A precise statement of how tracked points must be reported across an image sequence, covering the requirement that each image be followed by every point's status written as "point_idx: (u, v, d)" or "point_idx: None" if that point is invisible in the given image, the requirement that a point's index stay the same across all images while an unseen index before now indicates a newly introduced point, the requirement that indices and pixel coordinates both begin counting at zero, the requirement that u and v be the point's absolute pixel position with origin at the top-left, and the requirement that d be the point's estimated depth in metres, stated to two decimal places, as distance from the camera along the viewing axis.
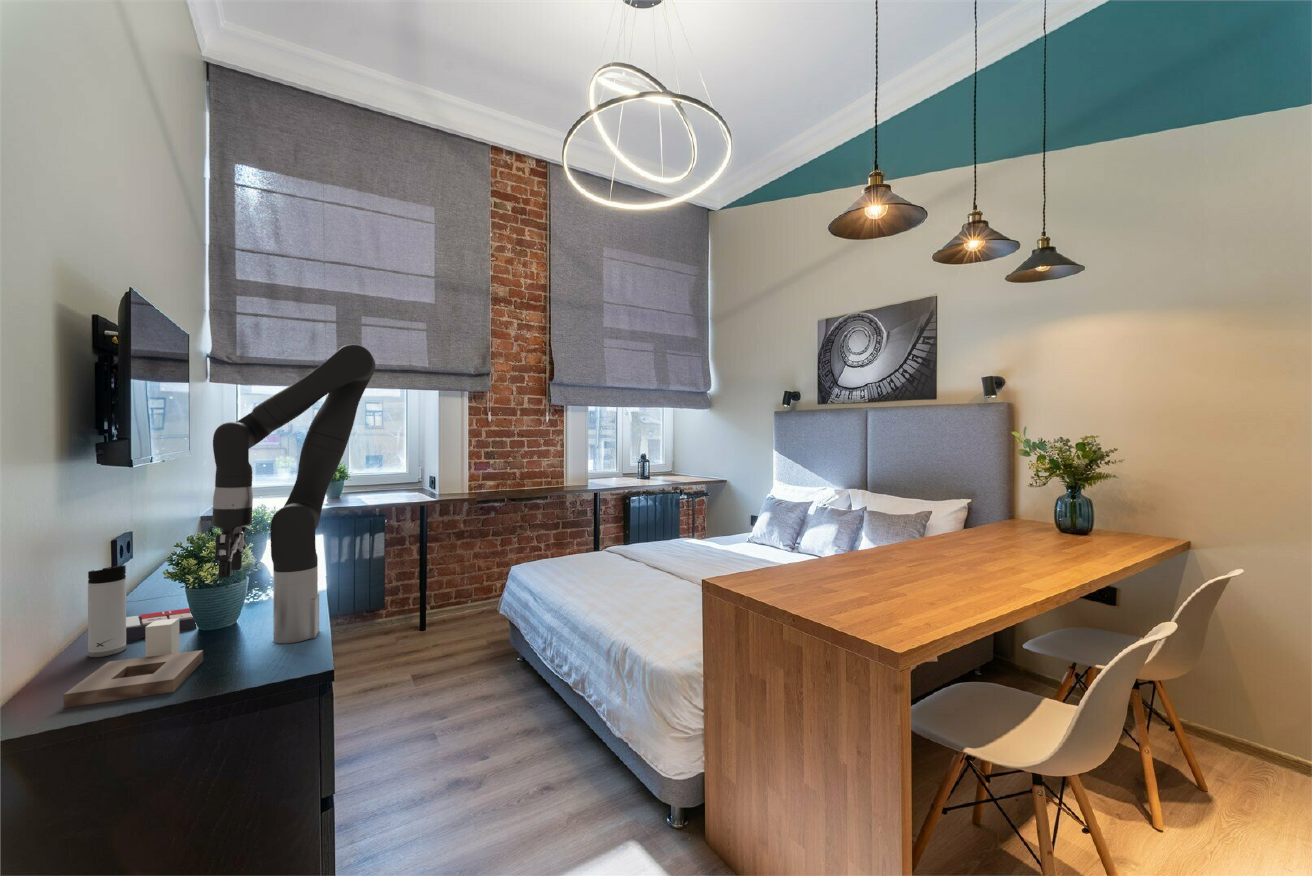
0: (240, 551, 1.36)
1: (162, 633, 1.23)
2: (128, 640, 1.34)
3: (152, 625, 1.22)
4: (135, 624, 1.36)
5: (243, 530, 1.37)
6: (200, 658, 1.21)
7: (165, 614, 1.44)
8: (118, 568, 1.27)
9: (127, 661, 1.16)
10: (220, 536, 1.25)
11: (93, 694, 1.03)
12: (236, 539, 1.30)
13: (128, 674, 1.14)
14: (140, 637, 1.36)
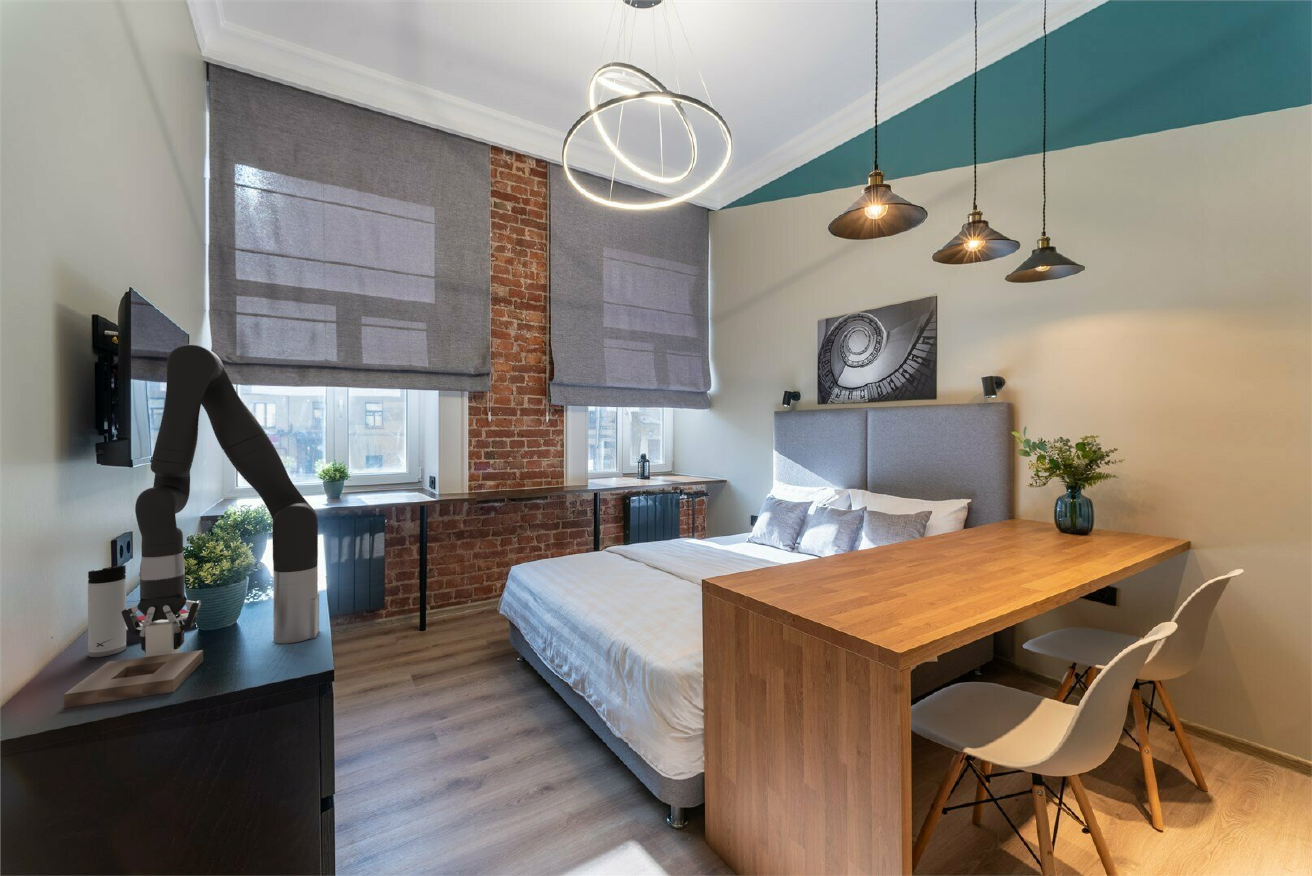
0: None
1: (162, 633, 1.23)
2: (134, 641, 1.33)
3: (152, 625, 1.22)
4: None
5: None
6: (200, 658, 1.21)
7: None
8: (118, 568, 1.27)
9: (127, 661, 1.16)
10: (198, 604, 1.27)
11: (93, 694, 1.03)
12: None
13: (128, 674, 1.14)
14: None
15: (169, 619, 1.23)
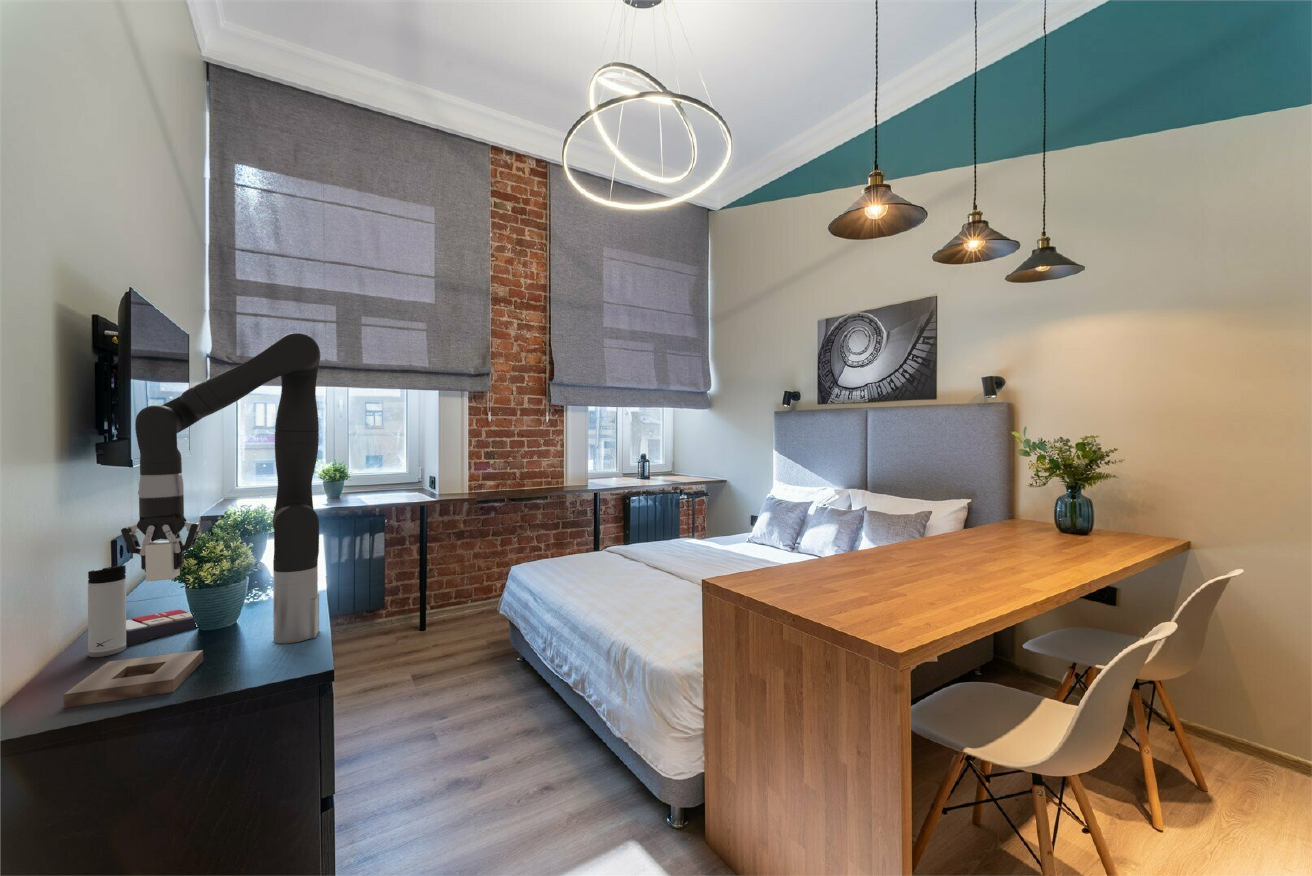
0: None
1: (162, 552, 1.22)
2: (137, 642, 1.33)
3: (152, 544, 1.22)
4: (141, 625, 1.35)
5: None
6: (200, 658, 1.21)
7: (161, 616, 1.43)
8: (118, 568, 1.27)
9: (127, 661, 1.16)
10: (198, 525, 1.26)
11: (93, 694, 1.03)
12: None
13: (128, 674, 1.14)
14: (148, 638, 1.35)
15: (169, 539, 1.23)
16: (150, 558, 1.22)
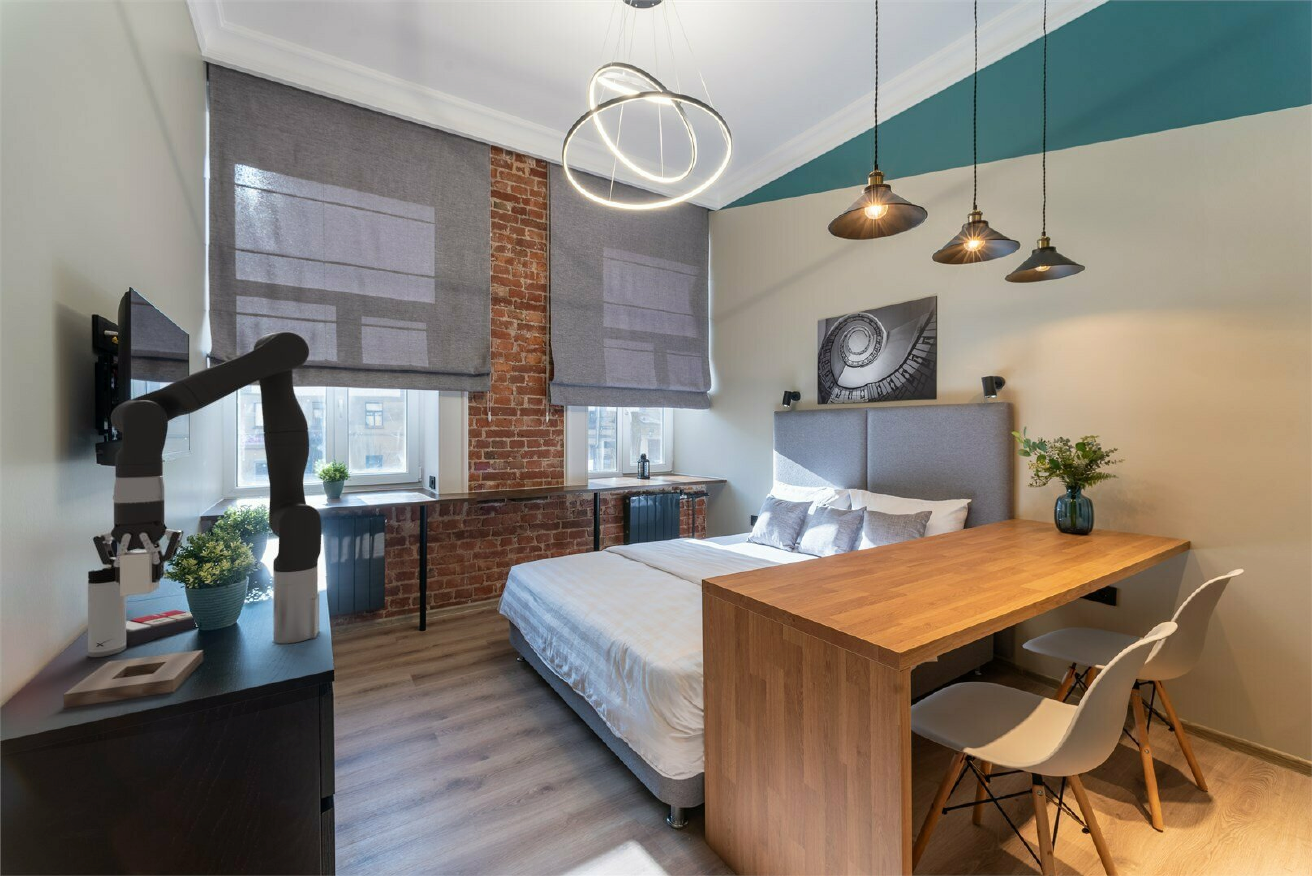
0: None
1: (139, 563, 1.10)
2: (142, 642, 1.33)
3: (128, 554, 1.10)
4: (144, 626, 1.35)
5: None
6: (200, 658, 1.21)
7: (160, 616, 1.42)
8: None
9: (127, 661, 1.16)
10: (180, 533, 1.14)
11: (93, 694, 1.03)
12: None
13: (128, 674, 1.14)
14: (152, 638, 1.35)
15: (147, 548, 1.11)
16: (125, 570, 1.09)
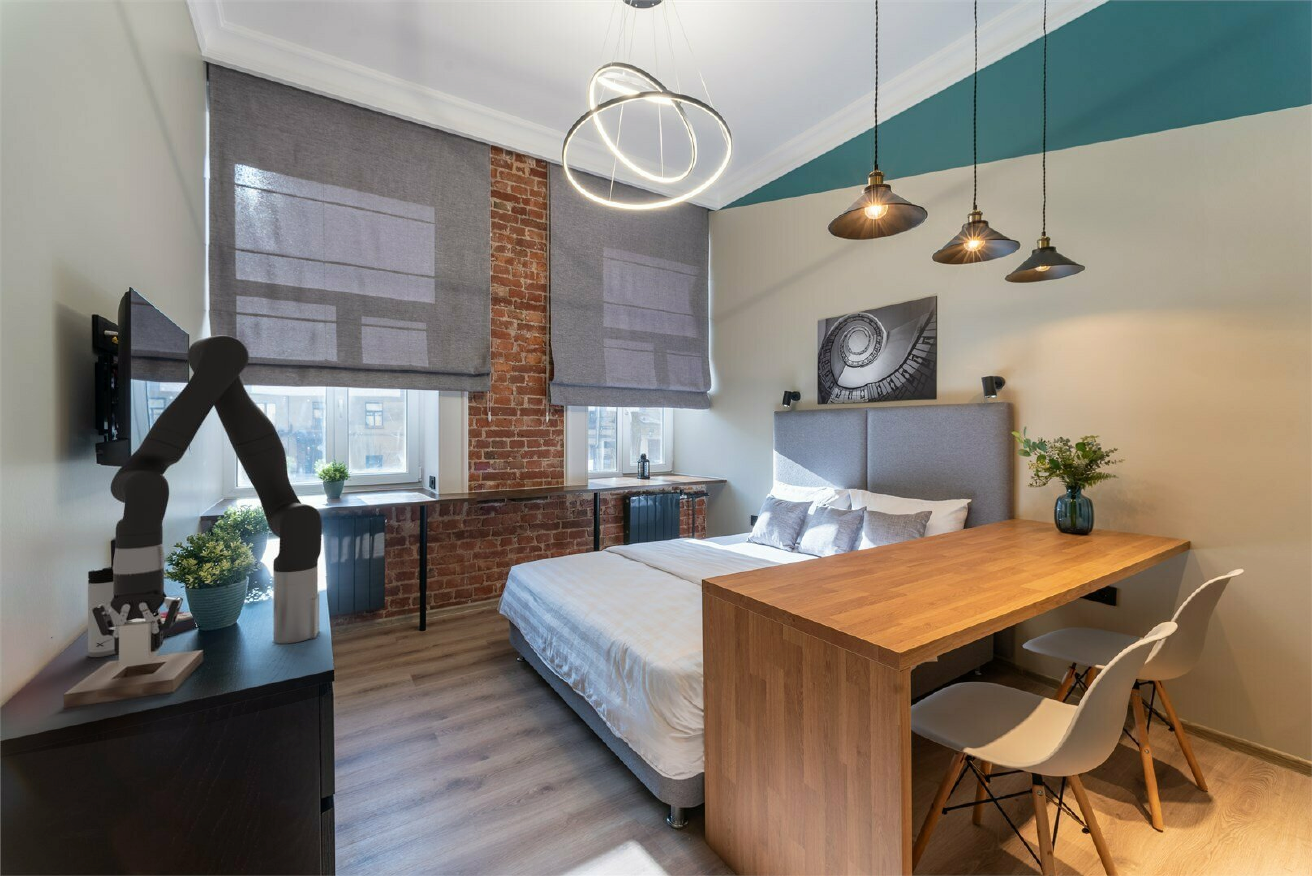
0: None
1: (138, 633, 1.10)
2: None
3: (127, 624, 1.10)
4: None
5: None
6: (200, 658, 1.21)
7: None
8: None
9: None
10: (179, 601, 1.14)
11: (93, 694, 1.03)
12: None
13: (128, 674, 1.14)
14: None
15: (146, 618, 1.11)
16: (124, 641, 1.09)
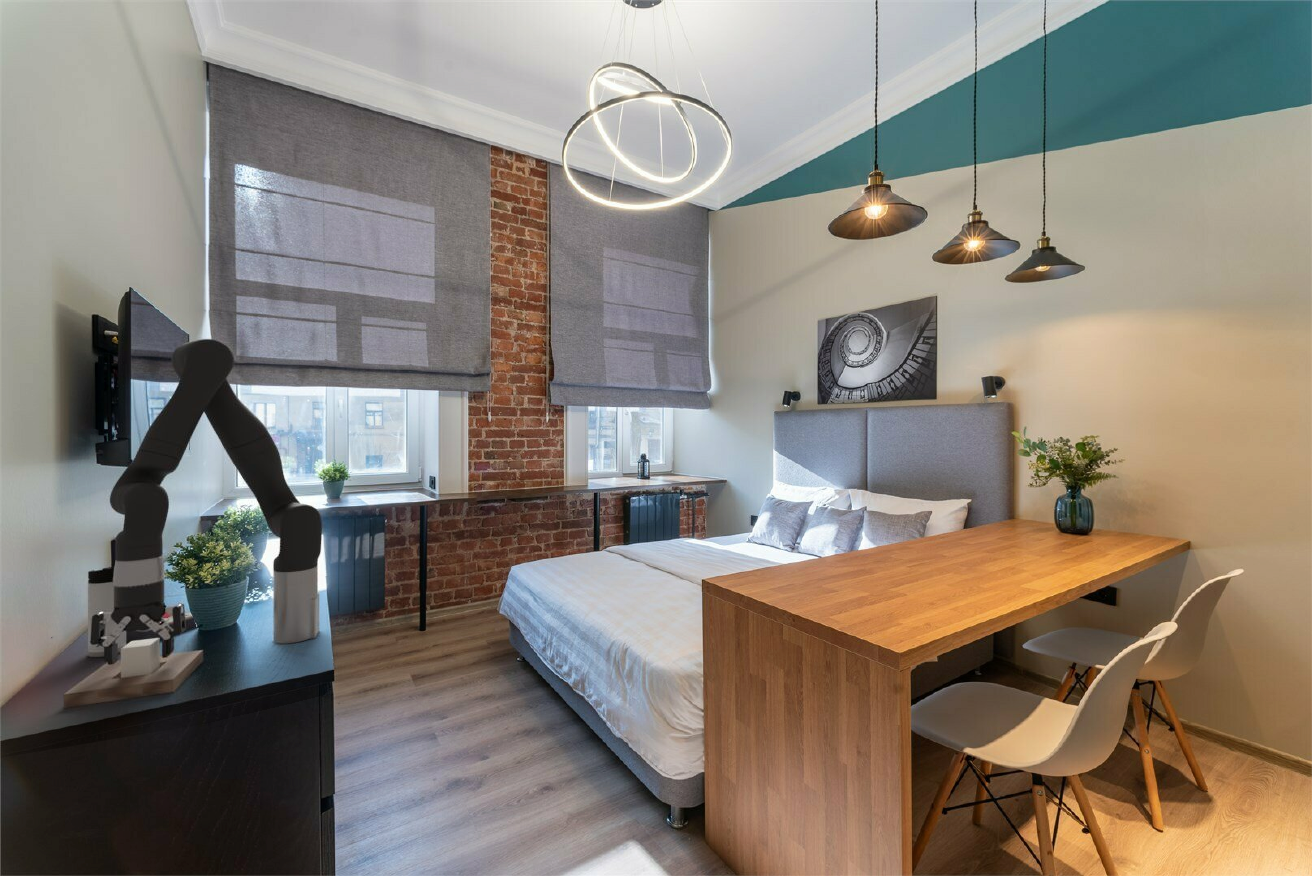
0: (116, 639, 1.11)
1: (140, 655, 1.10)
2: None
3: (128, 646, 1.10)
4: None
5: None
6: (200, 658, 1.21)
7: None
8: None
9: None
10: (180, 607, 1.14)
11: (93, 694, 1.03)
12: None
13: None
14: None
15: (152, 628, 1.11)
16: (126, 663, 1.09)
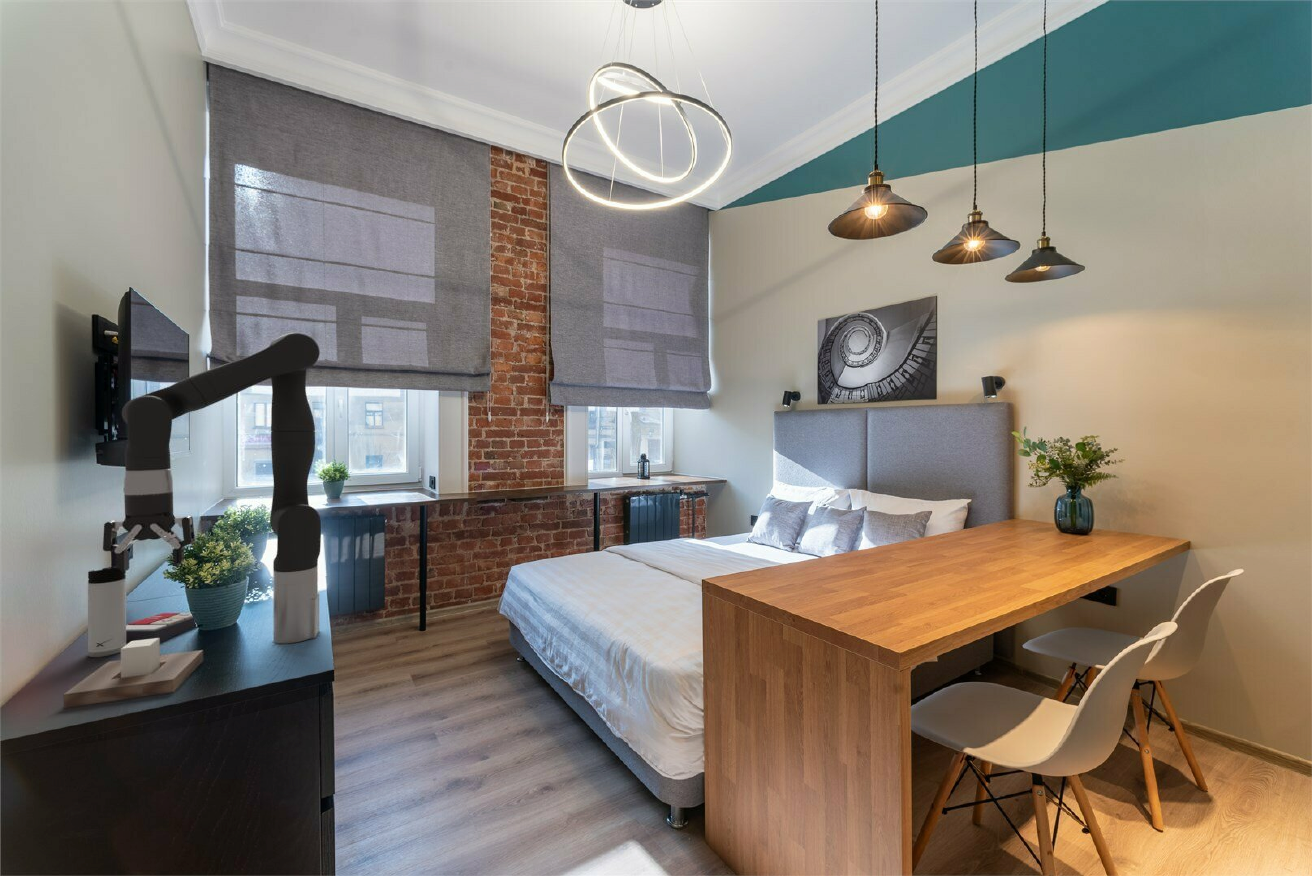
0: (128, 547, 1.15)
1: (140, 655, 1.10)
2: (162, 641, 1.34)
3: (128, 646, 1.10)
4: (160, 625, 1.35)
5: None
6: (200, 658, 1.21)
7: (159, 618, 1.41)
8: None
9: None
10: (189, 518, 1.18)
11: (93, 694, 1.03)
12: None
13: None
14: (169, 637, 1.36)
15: (163, 537, 1.16)
16: (126, 663, 1.09)
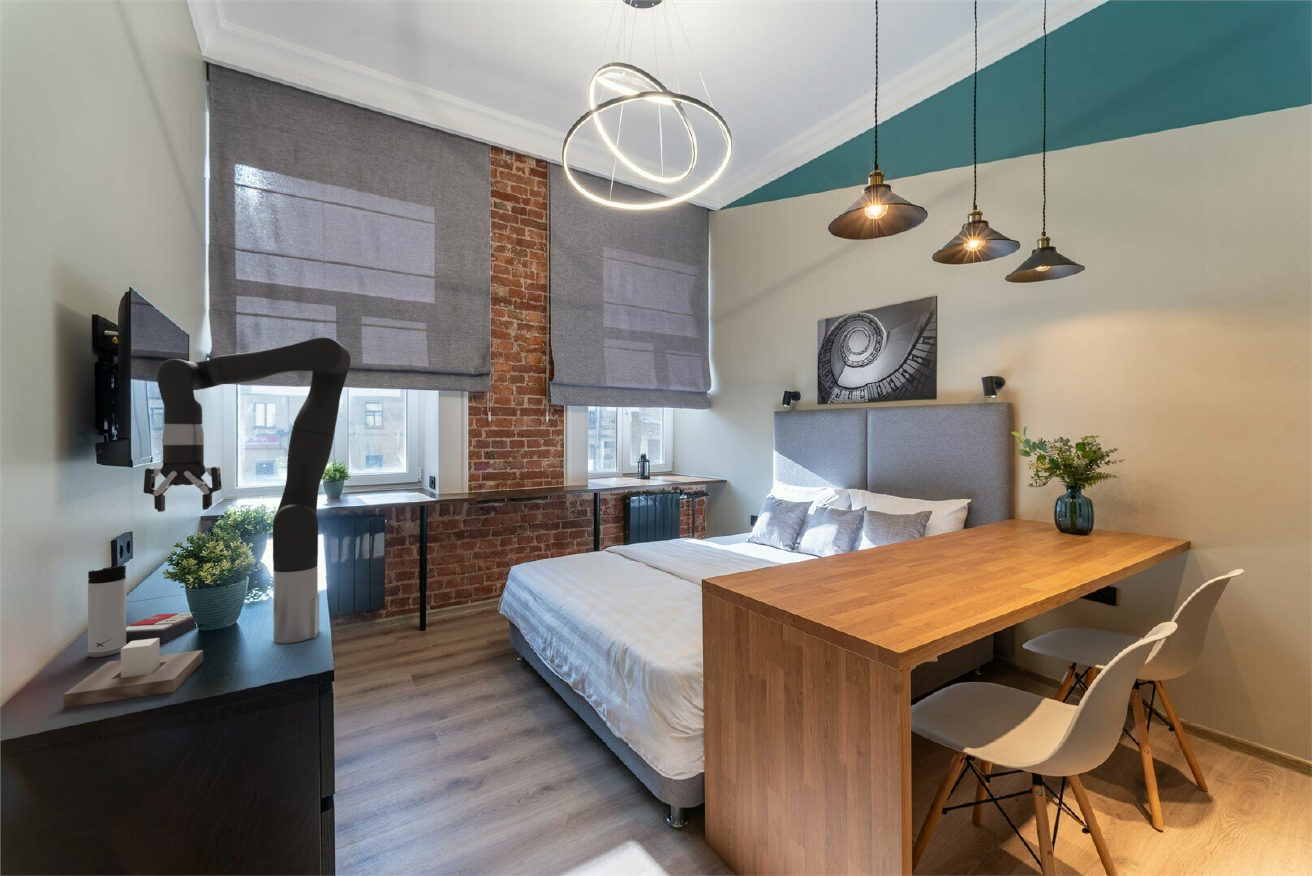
0: (164, 492, 1.32)
1: (140, 655, 1.10)
2: (169, 640, 1.34)
3: (128, 646, 1.10)
4: (166, 625, 1.35)
5: None
6: (200, 658, 1.21)
7: (159, 618, 1.40)
8: (118, 568, 1.27)
9: None
10: (217, 468, 1.35)
11: (93, 694, 1.03)
12: None
13: None
14: (175, 636, 1.37)
15: (194, 483, 1.32)
16: (126, 663, 1.09)
